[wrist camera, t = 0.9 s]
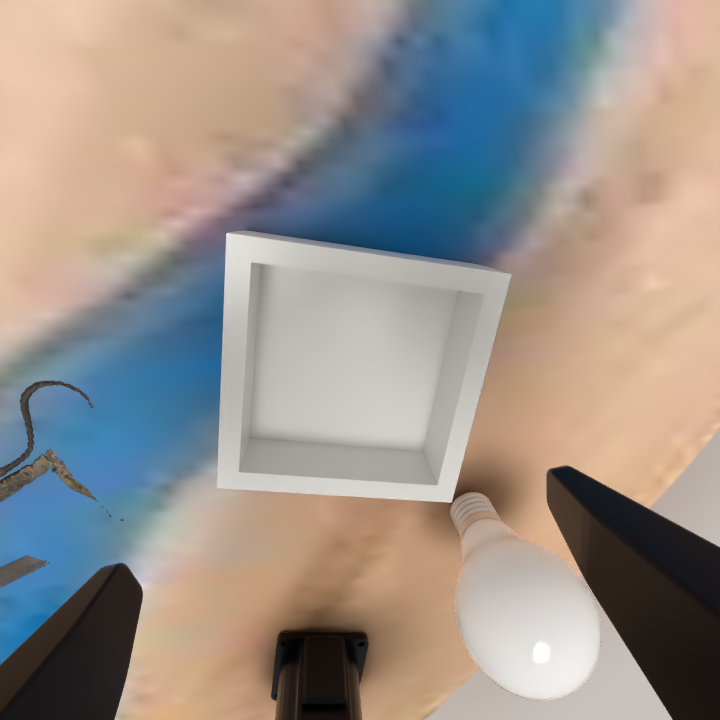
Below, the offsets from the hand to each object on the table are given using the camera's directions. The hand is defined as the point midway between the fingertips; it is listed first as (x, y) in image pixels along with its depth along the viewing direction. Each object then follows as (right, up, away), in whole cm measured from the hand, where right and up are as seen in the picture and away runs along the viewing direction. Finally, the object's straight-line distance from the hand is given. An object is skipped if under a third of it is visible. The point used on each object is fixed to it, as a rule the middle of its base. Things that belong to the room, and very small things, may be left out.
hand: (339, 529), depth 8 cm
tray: (0, +4, +14) cm, 14 cm away
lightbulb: (+7, -6, +18) cm, 20 cm away
